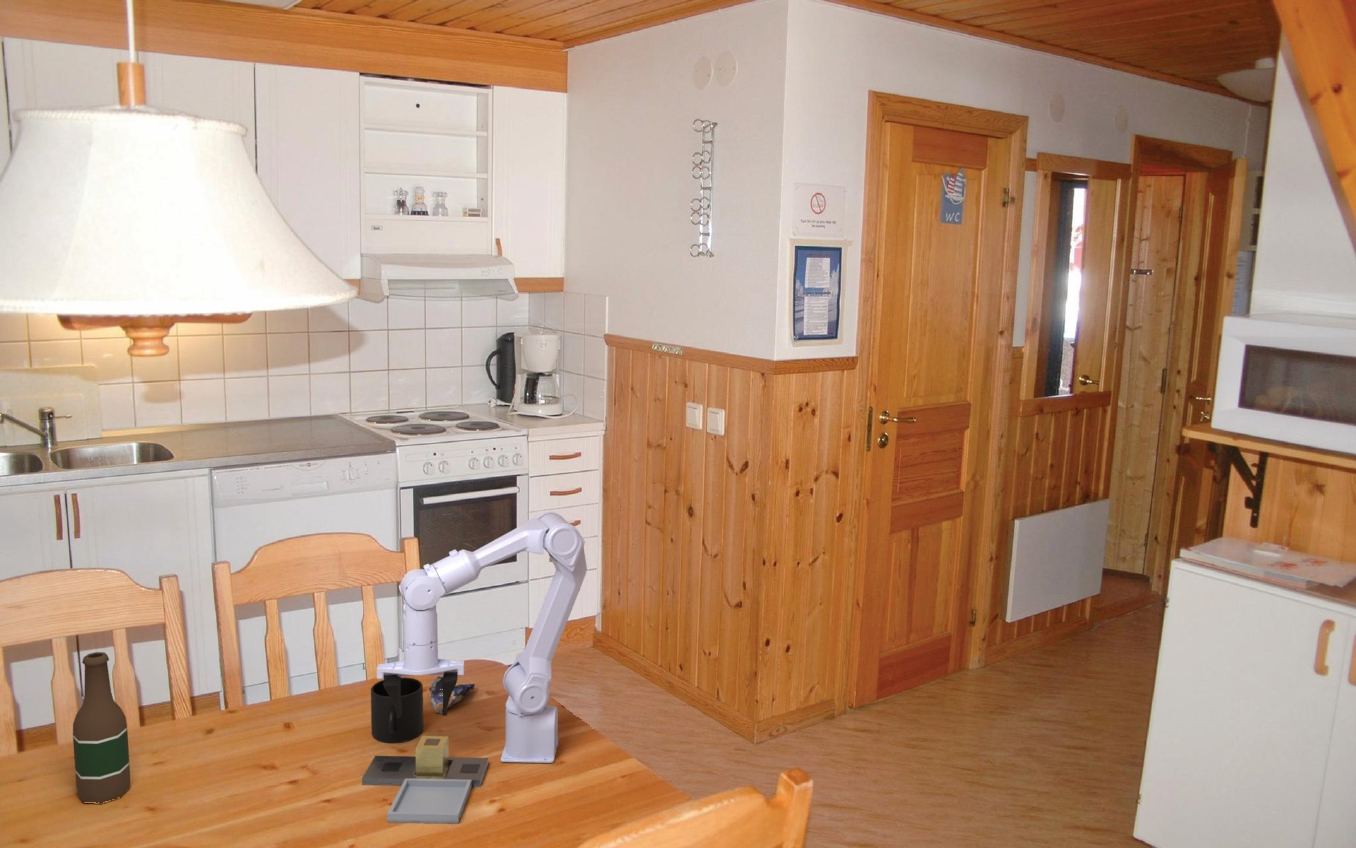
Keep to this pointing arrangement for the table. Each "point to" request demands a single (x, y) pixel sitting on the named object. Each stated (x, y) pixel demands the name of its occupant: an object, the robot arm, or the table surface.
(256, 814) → the table surface
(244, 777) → the table surface
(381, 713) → the mug
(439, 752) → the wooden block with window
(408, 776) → the metal plate with cutout
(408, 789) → the parts tray
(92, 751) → the beer bottle
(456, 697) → the snack package
